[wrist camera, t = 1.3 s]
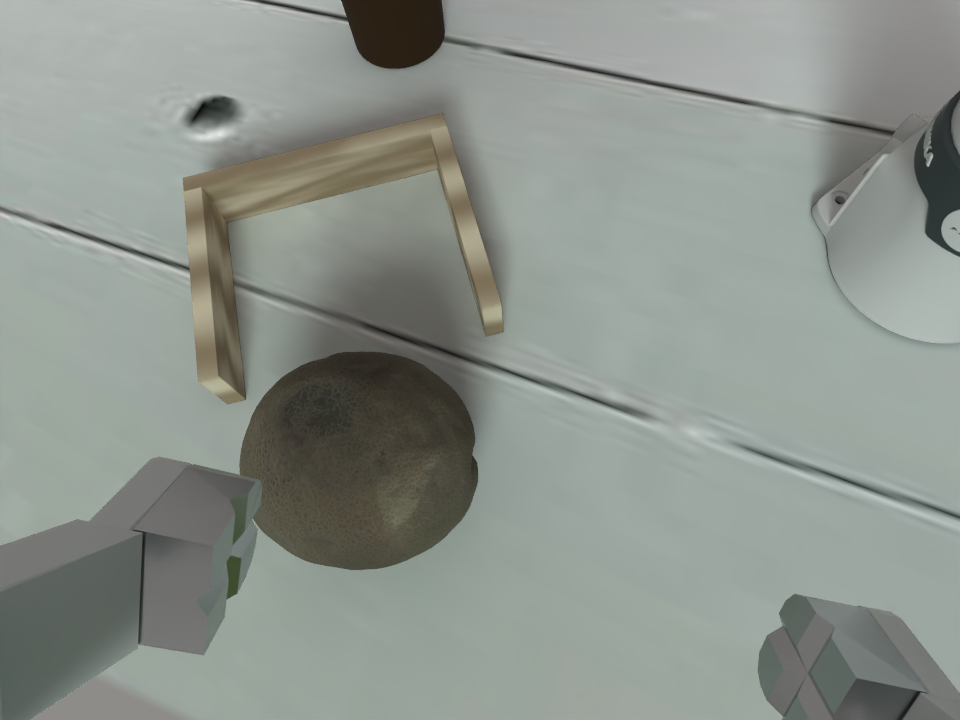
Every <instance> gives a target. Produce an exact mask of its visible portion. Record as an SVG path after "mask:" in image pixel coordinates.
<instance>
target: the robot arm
mask: <svg viewBox="0 0 960 720" xmlns="http://www.w3.org/2000/svg"><path fill="white" fill-rule="evenodd" d="M835 201H837V202H839V203H841V204H838V203H836V202H835ZM812 215H813V218H814V220H815V222H816V224H817V225H818V227H819V229H820V230H821V232H822V233H823V235H824V236H825V239H826V243H827V250H828V259H829V264H830V268H831V271H832V274H833V276H834V278H835V281H836V282H837V284H838V286H839V288H840V289H841V291H842V292H843V294H844V295H845V296H846V297H847V299H848V300H849V301H850V302H851V303H852V304H853V305H854V306H855V307H856V308H857V309H858V310H859V311H860V312H861V313H863V314H864V315H865V316H866V317H868V318H869V319H871V320H872V321H874V322H875V323H877V324H878V325H880V326H882V327H884V328H886V329H888V330H890V331H892V332H894V333H897V334H899V335H902V336H905V337H908V338H911V339H915V340H919V341H924V342H931V343H960V91H959V92H958V93H957V94H956V95H955V96H954V97H953V98H952V99H951V100H950V101H949V102H947V103H946V104H945V105H944V106H943V107H942V108H941V110H940V111H939V112H938V113H937V114H936V116H935V117H924V118H920V117H919V116H917V115H913V114H912V115H911V116H909V117H908V118H907V119H906V120H905V121H904V122H903V123H902V124H901V125H900V127H899V128H898V129H897V130H896V131H895V133H894V134H893V136H892V137H891V140H889V141H888V142H887V144H886V145H885V146H884V147H883V148H882V150H880V151H879V152H878V153H877V154H875V155H874V156H873V157H872V158H870V159H869V160H868V161H867V162H865V163H864V164H863V165H862V166H860V167H859V168H858V169H856V170H855V171H854V172H853V173H851V174H850V175H849V176H848V177H846V178H845V179H844V180H843V181H841V182H840V183H839V184H838V185H836V186H835V187H834V188H832V189H831V190H830V191H829V192H827V193H826V194H825V195H824V196H822V197H821V198H820V199H819V200H818V201H817V202H816V204H815V205H814V206H813V208H812ZM261 495H262V483H261V481H260V480H259V479H255V478H251V477H246V476H242V475H238V474H234V473H229V472H225V471H221V470H217V469H212V468H208V467H204V466H199V465H195V464H193V465H192V464H190V463H186V462H181V461H177V460H172V459H167V458H163V457H157V458H153V459H151V460H149V461H148V462H147V463H146V464H145V465H144V466H143V467H142V468H141V469H140V470H139V471H138V473H137V474H136V475H135V476H134V477H133V478H132V479H131V480H130V481H129V482H128V483H127V484H126V485H125V486H124V487H123V488H122V489H121V490H120V491H119V492H118V493H117V494H116V495H115V496H114V497H113V498H112V499H111V500H110V501H109V502H108V503H107V504H106V505H105V506H104V507H103V508H102V509H101V510H100V511H99V512H98V513H97V514H96V515H95V516H94V517H93V518H92V519H91V520H90V521H89V522H88V521H83V520H78V519H77V520H75V521H72V522H69V523H66V524H63V525H60V526H57V527H54V528H51V529H48V530H45V531H43V532H40V533H37V534H34V535H31V536H28V537H25V538H22V539H19V540H16V541H14V542H11V543H8V544H5V545H2V546H0V720H30V719H32V718H34V717H35V716H37V715H38V714H40V713H41V712H43V711H44V710H46V709H47V708H49V707H50V706H52V705H53V704H55V703H56V702H58V701H59V700H61V699H62V698H64V697H65V696H67V695H68V694H70V693H71V692H73V691H74V690H76V689H77V688H79V687H80V686H82V685H83V684H85V683H86V682H88V681H89V680H91V679H92V678H94V677H95V676H97V675H98V674H100V673H101V672H103V671H104V670H106V669H107V668H109V667H110V666H112V665H113V664H115V663H116V662H118V661H119V660H121V659H122V658H124V657H125V656H127V655H128V654H130V653H131V652H133V651H134V650H136V649H138V644H139V645H145V646H151V647H157V648H163V649H169V650H175V651H181V652H187V653H193V654H199V655H204V654H205V652H206V650H207V648H208V647H209V645H210V643H211V641H212V639H213V638H214V636H215V634H216V632H217V630H218V628H219V627H220V625H221V623H222V621H223V619H224V617H225V608H226V600H227V599H229V598H230V597H232V596H234V595H236V594H237V593H238V591H239V589H240V587H241V585H242V583H243V582H244V580H245V577H246V575H247V572H248V569H249V566H250V564H251V561H252V557H253V553H254V549H255V544H256V538H257V530H258V529H257V528H256V526H255V524H254V523H253V521H252V518H253V517H254V515H255V513H256V512H257V510H258V508H259V506H260V505H261ZM779 615H780V619H781V622H782V627H780V628H779V629H777V630H775V631H774V632H772V633H770V634H769V635H767V637H766V639H765V641H764V643H763V646H762V648H761V650H760V652H759V663H758V674H759V680H760V685H761V688H762V690H763V693H764V695H765V697H766V700H767V701H768V702H769V703H770V704H771V705H772V706H773V707H774V708H775V709H776V710H777V711H778V712H779V713H780V714H781V715H782V716H783V718H782V720H960V693H959V692H958V690H957V689H956V688H955V687H954V685H953V684H952V683H951V681H950V680H949V679H948V678H947V676H946V675H945V674H944V673H943V671H942V670H941V669H940V667H939V666H938V665H937V664H936V662H935V661H934V660H933V658H932V657H931V656H930V655H929V653H928V652H927V651H926V650H925V648H924V647H923V646H922V644H921V643H920V642H919V641H918V639H917V638H916V637H915V635H914V634H913V633H912V632H911V630H910V629H909V628H908V627H907V625H906V624H905V623H904V621H903V620H902V619H901V618H900V617H898V616H896V615H895V614H893V613H892V612H890V611H884V610H879V609H873V608H868V607H862V606H852V605H847V604H842V603H837V602H832V601H827V600H822V599H817V598H812V597H807V596H803V595H798V594H794V595H792V596H791V597H790V598H789V599H787V600H786V601H785V603H784V605H783V607H782V609H781V610H780V612H779Z"/></svg>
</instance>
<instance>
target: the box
mask: <svg viewBox="0 0 960 720" xmlns="http://www.w3.org/2000/svg"><path fill="white" fill-rule="evenodd" d="M437 169H438V172H439V176H440V179H441V183H442V186H443V190H444V193H445V197H446V200H447V204H448V207H449V211H450V214H451V217H452V221H453V224H454V228H455V231H456V235H457V238H458V242H459V245H460V249H461V252H462V255H463V259H464V262H465V266H466V269H467V273H468V276H469V280H470V283H471V287H472V290H473V294H474V297H475V300H476V304H477V307H478V311H479V314H480V318H481V321H482V325H483V328H484V332H485V335H486V336H490V335H494V334H498V333H501V332H504V330H503V319H502V307H501V300H500V297H499V294H498V291H497V287H496V284H495V281H494V278H493V274H492V271H491V268H490V265H489V261H488V258H487V255H486V252H485V249H484V245H483V242H482V239H481V236H480V232H479V229H478V226H477V223H476V219H475V216H474V213H473V210H472V206H471V203H470V200H469V197H468V193H467V190H466V187H465V184H464V180H463V177H462V174H461V171H460V167H459V164H458V161H457V158H456V154H455V151H454V148H453V145H452V141H451V138H450V135H449V132H448V128H447V125H446V122H445V119H444V115H443V113H442V114H438V115H434V116H430V117H426V118H422V119H418V120H414V121H410V122H406V123H402V124H398V125H394V126H390V127H386V128H381V129H377V130H373V131H369V132H365V133H361V134H357V135H353V136H349V137H345V138H341V139H337V140H333V141H329V142H325V143H321V144H317V145H313V146H309V147H305V148H301V149H297V150H293V151H289V152H285V153H281V154H277V155H273V156H269V157H265V158H261V159H257V160H253V161H249V162H245V163H241V164H237V165H233V166H229V167H225V168H221V169H217V170H213V171H209V172H205V173H201V174H197V175H193V176H189V177H185V178H183V186H184V199H185V213H186V226H187V239H188V253H189V266H190V279H191V293H192V306H193V319H194V333H195V346H196V360H197V373H198V381H199V382H200V383H201V384H203V385H204V386H205V387H206V388H208V389H209V390H210V391H211V392H213V393H214V394H215V395H217V396H218V397H219V398H220V399H222V400H223V401H224V402H225V403H227V404H230V403H234V402H238V401H242V400H246V396H245V387H244V377H243V368H242V359H241V349H240V340H239V331H238V321H237V312H236V303H235V294H234V284H233V275H232V266H231V256H230V247H229V238H228V228H227V222H230V221H234V220H238V219H242V218H246V217H250V216H254V215H258V214H262V213H266V212H270V211H274V210H278V209H282V208H286V207H290V206H294V205H298V204H302V203H306V202H310V201H314V200H318V199H322V198H326V197H330V196H334V195H337V194H341V193H345V192H349V191H353V190H357V189H361V188H365V187H369V186H373V185H377V184H381V183H385V182H389V181H393V180H397V179H401V178H405V177H409V176H413V175H417V174H421V173H425V172H429V171H433V170H437Z"/></svg>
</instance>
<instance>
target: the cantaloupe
mask: <svg viewBox="0 0 960 720" xmlns="http://www.w3.org/2000/svg"><path fill="white" fill-rule="evenodd" d="M474 444H475V433H474V428H473V424H472V421H471V418H470V416H469V413H468V411H467V409H466V407H465V405H464V403H463V401H462V400H461V398H460V397H459V396H458V394H457V393H456V392H455V391H454V390H453V389H452V388H451V387H450V386H449V385H448V384H447V383H446V382H445V381H443V380H442V379H441V378H440V377H439V376H437V375H436V374H434V373H433V372H432V371H430V370H429V369H428V368H426V367H425V366H423V365H422V364H420V363H417V362H415V361H413V360H410V359H407V358H405V357H402V356H398V355H393V354H387V353H380V352H343V353H337V354H334V355H331V356H329V357H327V358H324V359H321V360H316V361H312V362H309V363H307V364H304V365H302V366H300V367H298V368H296V369H295V370H293V371H291V372H290V373H288V374H287V375H285V376H284V377H282V378H281V379H280V380H279V381H278V382H277V383H276V384H275V385H274V386H273V387H272V388H271V389H270V390H269V391H268V392H267V393H266V394H265V395H264V397H263V398H262V400H261V401H260V403H259V404H258V406H257V407H256V409H255V411H254V413H253V415H252V417H251V420H250V423H249V426H248V428H247V431H246V434H245V437H244V440H243V444H242V448H241V455H240V475H242V476H246V477H251V478H255V479H259V480H260V481H261V483H262V495H261V505H260V506H259V508H258V510H257V512H256V513H255V515H254V517H253V519H254V521H255V522H256V524H257V525H258V526H259V528H260V529H261V530H262V531H263V532H264V533H265V534H266V535H267V536H268V537H270V538H271V539H272V540H274V541H275V542H276V543H278V544H279V545H280V546H281V547H283V548H284V549H285V550H287V551H288V552H290V553H291V554H293V555H295V556H297V557H299V558H301V559H303V560H305V561H308V562H311V563H315V564H320V565H325V566H331V567H338V568H344V569H350V570H363V569H378V568H384V567H388V566H392V565H395V564H398V563H401V562H403V561H406V560H408V559H410V558H412V557H414V556H416V555H418V554H420V553H423V552H425V551H426V550H428V549H430V548H432V547H433V546H434V545H436V544H437V543H439V542H440V541H441V540H442V539H443V538H445V537H446V536H447V535H448V533H449V532H450V531H451V530H452V529H453V528H454V527H455V526H456V525H457V524H458V523H459V522H460V521H461V520H462V518H463V517H464V516H465V514H466V512H467V511H468V509H469V507H470V505H471V502H472V499H473V496H474V493H475V490H476V487H477V482H478V467H477V462H476V460H475V459H474V457H473V456H472V452H473V447H474Z"/></svg>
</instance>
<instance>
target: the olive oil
mask: <svg viewBox="0 0 960 720" xmlns="http://www.w3.org/2000/svg"><path fill="white" fill-rule="evenodd" d="M341 1H342V4H343V7H344V10H345V13H346V16H347V19H348V22H349V25H350V28H351V31H352V34H353V37H354V40H355V43H356V46H357V49H358V51H359V53H360V54H361V55H362V57H363V58H365V59H366V60H367V61H369V62H370V63H372V64H374V65H377V66H380V67H384V68H405V67H410V66H413V65H416V64H419V63H421V62H423V61H425V60H426V59H428V58H429V57H430V56H432V55H433V54H434V53H435V52H436V51H437V50H438V48H439V47H440V45H441V44H442V41H443V39H444V19H443V10H442V1H441V0H341Z"/></svg>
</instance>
